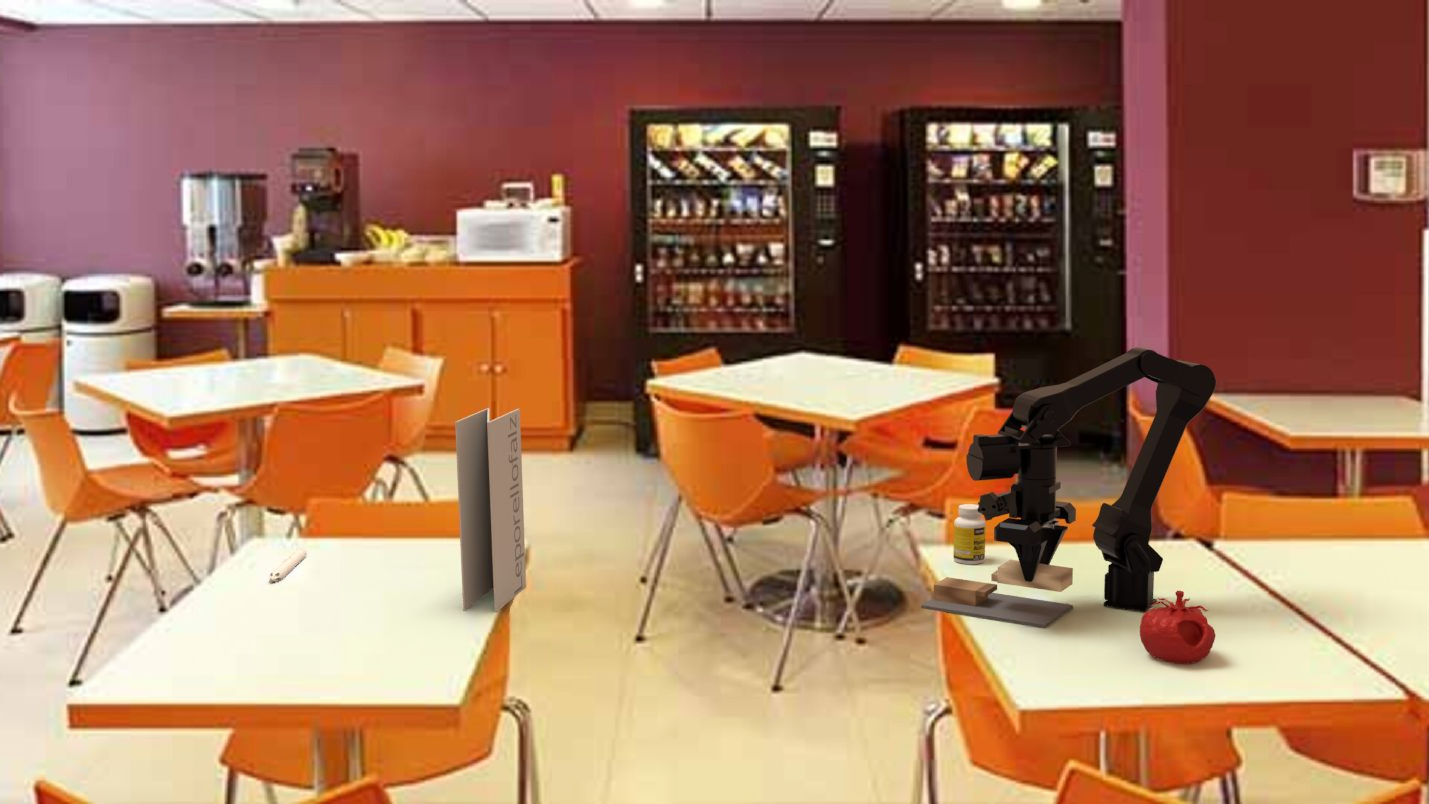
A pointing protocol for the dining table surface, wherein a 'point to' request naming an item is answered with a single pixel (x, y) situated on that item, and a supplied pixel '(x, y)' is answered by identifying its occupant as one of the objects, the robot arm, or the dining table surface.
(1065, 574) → the birch plank
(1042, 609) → the underlay mat
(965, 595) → the wooden block
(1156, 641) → the pomegranate
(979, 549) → the supplement bottle
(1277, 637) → the dining table surface
